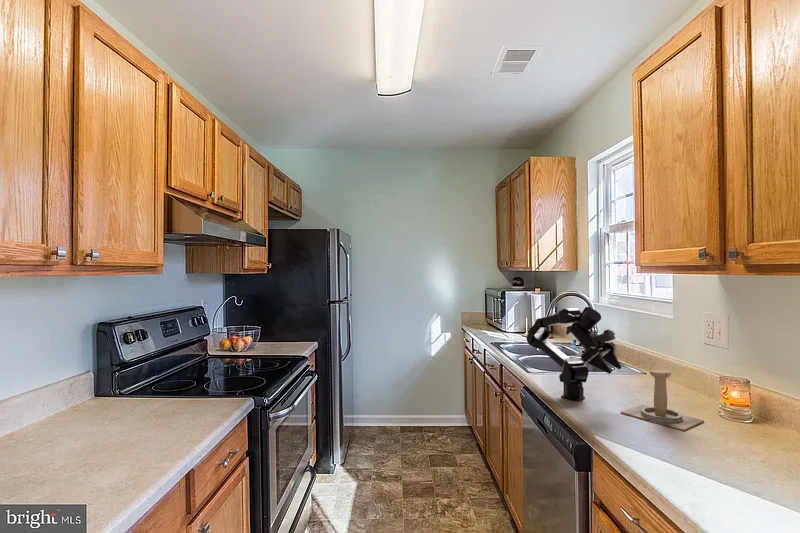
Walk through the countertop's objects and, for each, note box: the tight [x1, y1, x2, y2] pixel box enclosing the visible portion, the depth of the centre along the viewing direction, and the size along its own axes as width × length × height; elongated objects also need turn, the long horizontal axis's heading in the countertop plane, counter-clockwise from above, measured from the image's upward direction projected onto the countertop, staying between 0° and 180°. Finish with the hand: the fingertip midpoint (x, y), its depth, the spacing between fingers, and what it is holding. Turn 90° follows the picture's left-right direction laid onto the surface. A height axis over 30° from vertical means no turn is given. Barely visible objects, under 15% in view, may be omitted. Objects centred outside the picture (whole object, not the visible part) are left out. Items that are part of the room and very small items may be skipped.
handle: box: [649, 369, 672, 417], centre depth 147 cm, size 5×6×15 cm
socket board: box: [620, 404, 705, 432], centre depth 147 cm, size 20×14×2 cm
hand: (615, 370), depth 156 cm, fingers open, 9 cm apart
